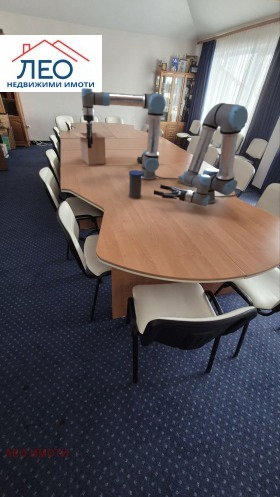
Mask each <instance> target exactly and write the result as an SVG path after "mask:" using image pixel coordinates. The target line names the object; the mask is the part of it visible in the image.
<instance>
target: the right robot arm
mask: <svg viewBox="0 0 280 497" xmlns="http://www.w3.org/2000/svg"><path fill="white" fill-rule="evenodd" d="M248 119H249V113H248V109H247V108H246V106H244V105H240V104H239V103H235V104H234V103H226V102H219V103H217V104H215V105H214V106H213V107H212V108H210V109H209V111H208V112H207V113H206V115H205V117H204V119H203V121H202V124H201V128H202V129H201V132H200V135H199V138H198V140H197V143H196V146H195V149H194V151H193V155H192V156H191V160H190V163H189V166H188V169H187V170H185V171H183V173H182V174H181V175H182V180H183V181H184V182H186V183H187V184H189V185H192V187H193V188H196V190H195V191H192V190H187V189H181V188H179V187H176V186H173V185H165V184H160V185H159V188H160V189H161V190H166V191H170V192H164V191H159V190H155V189H154V190H153V195H155V196H159V197H161V198H162V199H169V200H177V199H178V200H179V201H181V202H186V203H188V204H192V205H193V204H194V205H196V206H201V207H207V206H208V204H214V203H215V201H216V198H225V197H234V196H239V195H242V194H246V193H252V194H253V193H254V192H253V190H248V191H242V192H238V193H236V194H235V193H234V191H235V190H236V189H237V187H238V181H237V179H236V178H235V176H236V175H235V172H234V165H235V157H236V150H237V143H238V136H239V135H240V133H241V132H242V130H243V129H244V128H245V127H246V124H247V122H248ZM218 128H219V134H220V135H221V144H220V155H219V156H220V158H219V166H218V167H219V168H218V169H217V168H206V169H204V170H203V171H202V174H201V175H200V176H198V174H200V171H201V168H202V165H203V163H204V160H205V157H206V155H207V152H208V149H209V147H210V144H211V142H212V140H213V137H214V134H215V133H216V132H217V131H218ZM216 193H219V194H220V195H216ZM233 193H234V194H233Z"/></svg>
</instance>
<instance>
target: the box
mask: <svg viewBox="0 0 280 497" xmlns="http://www.w3.org/2000/svg"><path fill="white" fill-rule="evenodd" d="M92 132H93V135H92V136H93V144H92V148H88V140H87V139H86V137H87V130H77V132H76V131H70V133H71V134H72V135H74V136H75V137H77V138H79V144H80V153H81V160H83V162H85V163H86V165H87V166H95V165H97V166H98V165H106V163H107V162H106V158H107V157H106V138H113V137H114V136H113V135H111V134H109V133H108V132H105V131H98V132H96V131H95V130H93V129H92Z"/></svg>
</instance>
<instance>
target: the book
mask: <svg viewBox="0 0 280 497" xmlns="http://www.w3.org/2000/svg"><path fill="white" fill-rule="evenodd" d="M182 175H183V174H181V175H178V177H177V183H179V184H182V185H185V186H187V187H190V188H192V187H193V186H192V185H189V184H187V183H186V182H184V181H183V180H182ZM200 175H202V174H201V173H198V176H200Z"/></svg>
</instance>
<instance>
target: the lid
mask: <svg viewBox="0 0 280 497" xmlns="http://www.w3.org/2000/svg"><path fill="white" fill-rule="evenodd" d="M128 175H129V177H130V176H133V177H141V176H143V172H142V171H141V170H139V169H138V170H137V169H132V170H130V171H128Z"/></svg>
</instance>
